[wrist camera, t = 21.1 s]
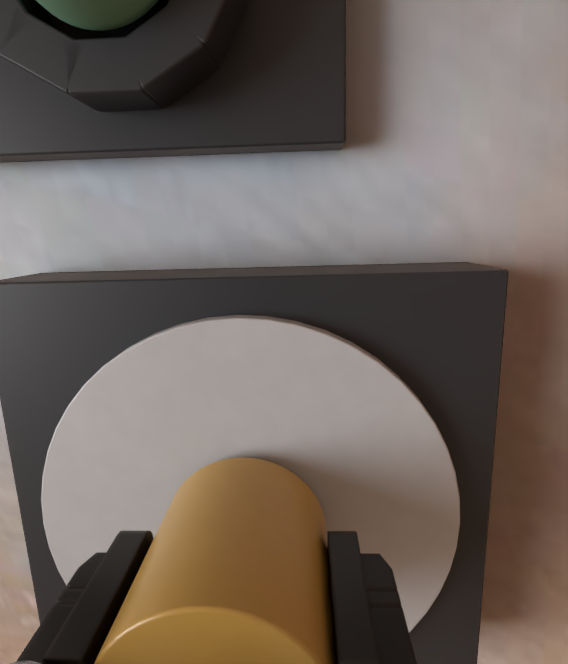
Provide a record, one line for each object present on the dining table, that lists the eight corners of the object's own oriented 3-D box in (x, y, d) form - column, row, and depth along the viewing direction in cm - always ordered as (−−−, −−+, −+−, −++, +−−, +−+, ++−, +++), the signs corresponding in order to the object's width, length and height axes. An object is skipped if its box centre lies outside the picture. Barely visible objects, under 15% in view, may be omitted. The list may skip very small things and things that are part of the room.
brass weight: (175, 594, 13) (73, 885, 7) (161, 456, 12) (32, 665, 6) (326, 595, 13) (346, 896, 7) (325, 455, 12) (346, 670, 6)
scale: (92, 622, 18) (44, 712, 15) (41, 272, 15) (-35, 285, 12) (445, 625, 18) (480, 721, 14) (467, 261, 14) (518, 271, 11)
